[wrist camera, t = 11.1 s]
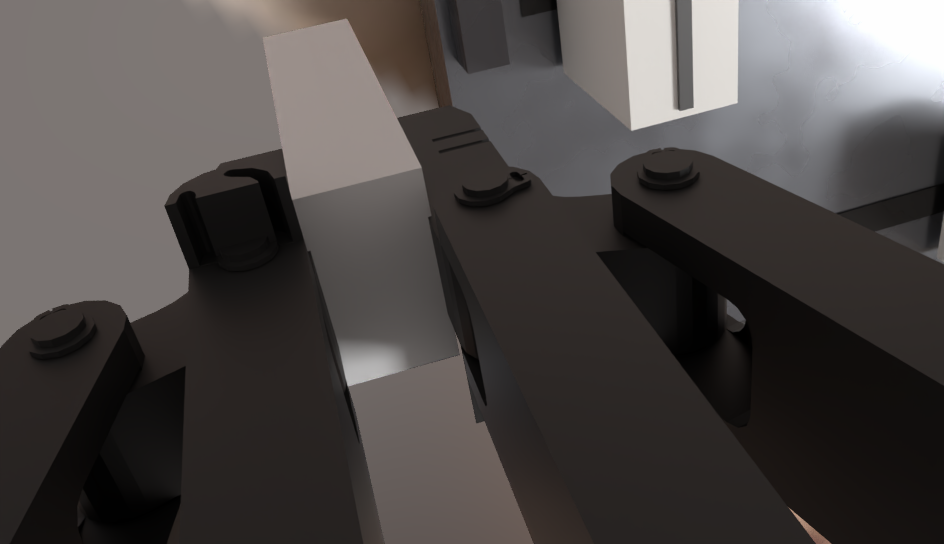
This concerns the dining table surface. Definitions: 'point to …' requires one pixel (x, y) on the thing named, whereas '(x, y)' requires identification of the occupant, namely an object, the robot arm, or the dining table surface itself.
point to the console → (734, 126)
